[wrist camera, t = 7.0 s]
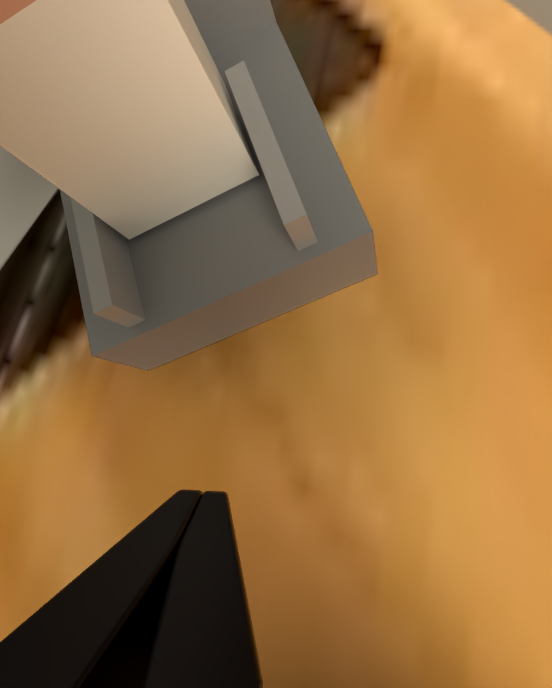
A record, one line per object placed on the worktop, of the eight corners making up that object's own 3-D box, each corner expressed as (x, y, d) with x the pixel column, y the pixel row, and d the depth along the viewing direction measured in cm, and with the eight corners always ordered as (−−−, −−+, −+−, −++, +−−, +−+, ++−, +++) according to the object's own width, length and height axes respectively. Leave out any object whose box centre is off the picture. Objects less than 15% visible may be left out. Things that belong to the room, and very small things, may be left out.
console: (377, 273, 18) (367, 181, 11) (148, 370, 20) (28, 340, 14) (279, 55, 22) (230, -106, 15) (98, 155, 24) (-13, 53, 18)
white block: (259, 174, 16) (114, -102, 8) (129, 239, 17) (-119, 59, 9) (224, 83, 17) (71, -231, 9) (106, 148, 18) (-123, -80, 10)
